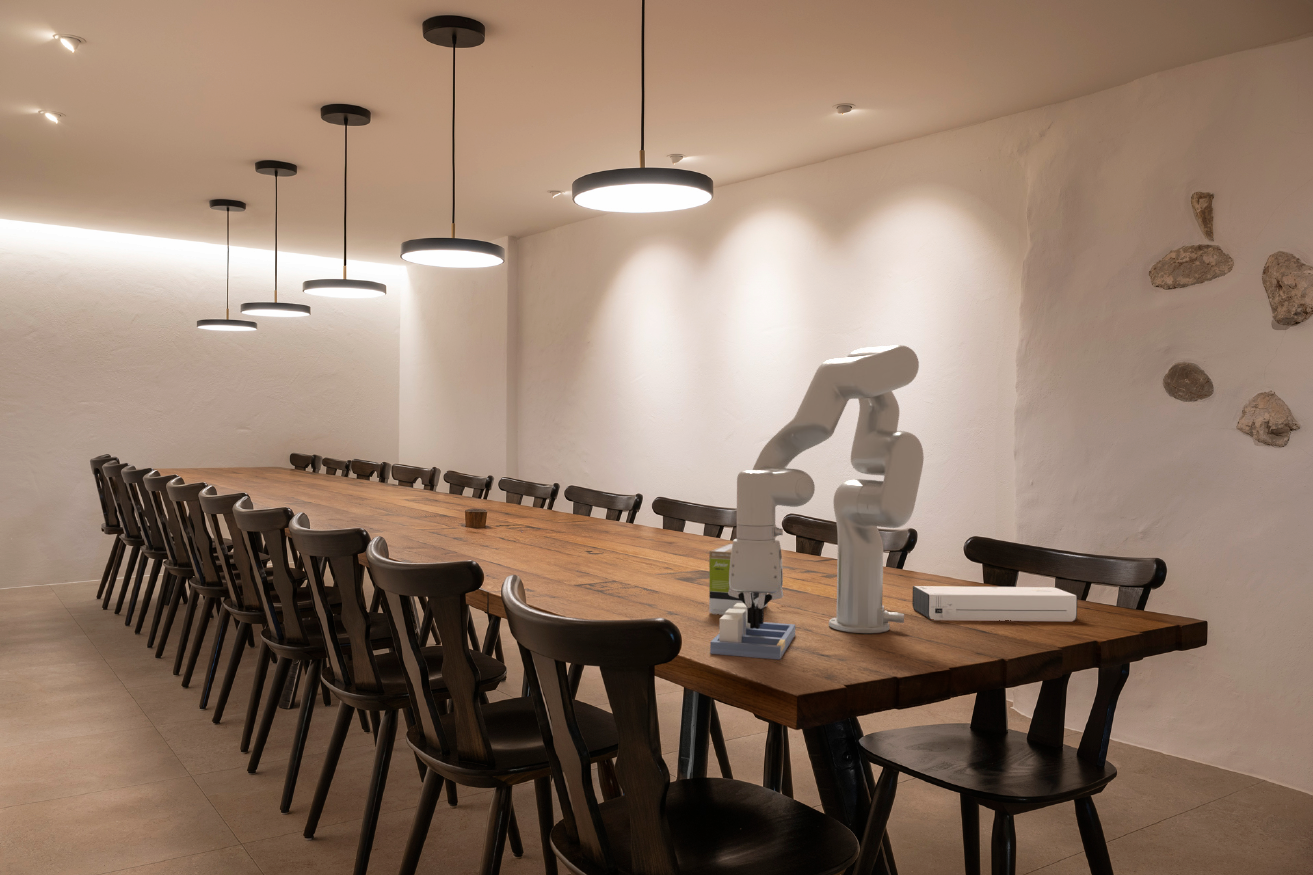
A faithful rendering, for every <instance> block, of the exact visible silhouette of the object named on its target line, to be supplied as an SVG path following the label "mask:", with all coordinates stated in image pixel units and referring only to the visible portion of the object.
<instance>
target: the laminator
mask: <svg viewBox="0 0 1313 875" xmlns="http://www.w3.org/2000/svg"><path fill="white" fill-rule="evenodd" d="M911 601H912V609H913V610H914V611H915V612H917V613H919V614H921V615H923V616H924V617H925V616H926V618H927V619H928V620H930V619H934V620H933V621H980V622H981V621H986V622H987V621H988V622H989V621H991V622H992V621H993V622H994V621H996V622H997V621H999V620H1000V621H999V622H1001V621H1002V622H1004V621H1005V620H1009V621H1008V622H1018V621H1019V622H1076V620H1077V618H1078V595H1077V594H1074V593H1071V592H1068V591H1066V590H1064V589H1063V590H1062V589H1060V588H1058V587H1055V586H1054V587H1053V586H1052V587H1051V586H1050V587H1047V586H1043V587H1042V586H1040V587H1037V586H1035V587H1034V586H953V585H952V586H950V585H949V586H944V585H943V586H942V585H940V586H939V585H936V586H935V585H933V586H931V585H930V586H929V585H926V586H925V585H923V586H922V585H920V586H919V585H913V586H912V600H911ZM1010 620H1011V621H1010ZM1005 622H1006V621H1005Z"/></svg>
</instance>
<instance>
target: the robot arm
mask: <svg viewBox="0 0 1313 875" xmlns="http://www.w3.org/2000/svg"><path fill="white" fill-rule="evenodd" d="M919 364H920V361H919V358H918V356H917V354H916V352H915V350H913V349H912V348H911V347H909V346H906V345H901V344H900V345H899V344H898V345H895V344H894V345H886V346H875V347H874V346H872V347H864V348H859V349H856V350H854V351H852V352H850V353H849V354H848V355H847V357H842V358H841V357H840V358H833V359H828V360H826V361H823V362H822V363H821V364H820V365H819V366H818V368H817V369H816V372H815V373H814V375H813V377H812V380H811V381H810V384H809V386H808V388H807V391H806V392H805V395H804V396H803V399H802V401H801V403H800V405H799V407H798V408H797V411H796V413H795V416H794V417H793V419H791V420H790V421H789V422H788V423H786V425H784V426H783V427H782V428H781V429H780V430H779V431H778V432H777V433H775V435H773V437H772V438H770V439H769V441H768V442H766V444H765V446H764V447H763V448H762V450H761V451H760V453H759V455H758V457H757V458H756V461H755V464H754V465H753V468H752V469H746V470H742V471H740V472H739V473H738V474H737V478H736V538H735V539H733V540H732V544H733V545H732V550H731V558H730V570H729V586H730V587H729V591H728V595H730V596H733V597H736V598H739V599H740V600H741V601H742V602H743V603H744V604H745V605H746V607H747V623H750V629H753V628H756V629H759V627H760V625H761V624H763V622H765V621H764V612H765V611H764V610H765V609H764V608H765V607H766V606H765V605H766V604H767V603H768V604H769V602H770V601H774V600H779V599H782V598H784V592H783V584H784V582H783V581H784V577H783V576H784V574H783V573H784V572H783V557H782V548H781V543H780V540H779V539H776V538H777V537H779V536H783V534H784V529H783V528H779V527H778V526H777V525H776V507H777V506H781V507H789V508H791V507H792V508H796V507H797V508H798V507H801V506H804V505H806V504H807V503H809V502H810V501H811V500H812V498H813V496H814V494H815V491H816V490H815V488H816V486H815V482H814V480H813V478H812V476H810V474H808V473H807V472H805V471H803V470H801V469H797V468H787V467H788V466H789V464H790V463H791V462H792V461H793V460H794V459H795V458H796V457H798V456H799V455H800V454H801V453H802V454H803V452H805V451H807V450H809V449H811V448H813V447H816V446H818V445H820V444H822V443H823V442H825V441H827V440H829V439H830V438H831V437H832V436H833V435H834V433H835V430H836V428H837V426H838V424H839V421H840V419H841V417H842V415H843V412H844V410H845V408H846V406H847V404H848V402H849V401H850V400H857V399H858V404H859V411H858V416H857V418H858V419H857V422H856V428H855V433H854V437H853V442H852V446H851V453H850V464H851V466H852V468H853V469H854V470H855V471H856V472H857V473H860V474H864V475H871V476H883V481H882V480H875V479H862V478H861V479H860V478H859V479H856V478H855V479H849V480H846V481H844V482H842V483H841V484H840V485H839V486H838V487H837V488H836V490H835V491H834V496H833V503H832V504H833V511H834V516H835V521H836V530H837V532H836V533H837V560H836V561H837V564H836V565H837V566H836V568H837V570H836V571H837V572H836V575H837V576H836V578H837V579H836V617H835V616H834V617H832V618H830V619H829V621H828V626H829V627H830V628H832V629H835V630H837V631H841V632H847V633H854V634H855V633H856V634H879V633H885V632H889V630H890V623H889V622H892V623H896V624H897V623H898V624H899V623H900V624H904V623H905V614H904V613H900V612H897V611H894V612H893V611H891V612H890V611H888V610H885V605H883V583H884V582H883V581H884V544H883V538H882V536H881V532H880V531H879V528H878V527H881V528H887V529H888V528H890V529H896V528H901V527H903V526H905V525H906V524H907V523H908V522H909V520H911V518H912V515H913V514H914V509H915V505H916V501H917V495H918V490H919V487H920V482H921V477H922V471H923V465H924V458H925V457H924V450H923V445H922V443H921V441H920V439H919V437H917V436H916V435H915V434H913V433H911V432H909V431H904V430H903V431H902V430H898V425H899V419H900V407H899V402H898V400H897V397H896V396H895V394H894V392H893V391H895V390H898V389H901V388H904V387H906V386H908V385H909V384H911V383H912V382H913V381H914V380H915V379H916V377H917V374H918V372H919V367H920V365H919ZM752 592H757V593H759V598H758V604H757V605H756V606H755V603H754V601H753V594H752ZM764 606H765V607H764Z"/></svg>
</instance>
